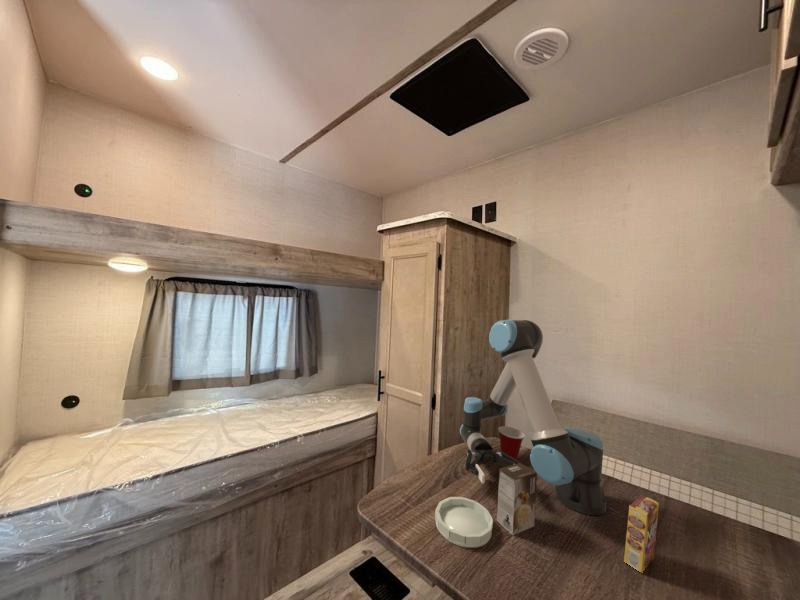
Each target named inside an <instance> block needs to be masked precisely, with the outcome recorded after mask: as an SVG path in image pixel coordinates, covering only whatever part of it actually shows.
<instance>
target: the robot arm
mask: <svg viewBox="0 0 800 600" xmlns="http://www.w3.org/2000/svg"><path fill="white" fill-rule="evenodd" d="M488 335H489V336H488V341H489V345H490V347H491V348H492V349H493V350H495V352H496V353H497V352H498V353H500V356H501V359H502V361H503V362H505V363H506V364H505V366H504V368H503V369H502V372H501V373H500V375H499V377H498V379H497V381H496V382H495V385H494V386H493V388H492V391H491V393H490V395H489V396H488V398H487V399H486V400H483V399H481V398H478V397H475V396H468V397H466V398H465V399H464V404H463V422H462V424H461V426H460V428H459V435H460V436H461V439H462V440H463V442H464V443H465V444H466V445H467V447H468V448H469V449H468V450H467V456H466V457H467V458H466V461H465V471H469V470H470V473H471V474H472V475H473V474H474V476H477V477H478V479H479V481H480V482H481V484H485V481H486V479H485V478H486V475H485V473H484V472H483V470H482V469H481V467H480V465H482V464H483V463H493V464H495V465H501V466H503V467H507V466H511V465H514V464H518V463H521V464H523V463H522V462H521V461H519V459H517V460H516V459H514V458H513V457H511V456H509V455H507V454H505V453H504V452H503V451H502V450H501V449H499V451H498V452H496V450H495V451H494V448H493V446H492V444H491V443H489V441H488V440H487V439H486V438H485V437H484V435H483V434H482V421H484V420H488V419H495V418H500V417H502V416H504V415H506V414H507V413H508V407H509V406H508V402H509V401H510V398H511V396H512V395H513V393H514V392H515V389H516V388H517V391H518V394H519V397H520V400H521V402H522V405H523V408H524V410H525V413H526V416H527V419H528V422H529V425H530V427H531V430H532V435H531V438H530V441H531V444H532V446H533V447H532V449H530V450H531V451H530V454H529V459H530V463H531V466H532V467H533V471H535V472H536V473H537V476H538V477H540V478H541V479H543V481H545V483H548V484H549V485H553V486H554V489H553V490H554V496H555V497H556V498H557V500H558V501H559V502H560V503H562V505H564V506H565V507H568V508H569V509H571V510H573V511H576V512H577V513H580V514H584V515H588V516H601V515H604V514H605V513H606V511H607V500H606V496H605V492H604V489H603V486H602V473H603V472H602V471H603V460H604V459H603V458H604V450H605V449H604V442H603V439H602V438H601V437H600V436H598V435H597V434H594V433H592V432H590V431H587V430H583V429H581V428H576V427H564V428H562V427H561V426H560V423H559V420H558V418H557V416H556V413H555V410H554V407H553V406H552V403H551V401H550V398H549V396H548V392H547V390H546V388H545V385H544V383H543V381H542V378H541V375H540V372H539V371H538V368H537V366H536V363H535V359H536V357H537V356H538V354H539V352H540V349H541V347H542V345H543V342H544V341H543V338H544V336H543V331H542V330H541V328H540V326H539V325H538V324H537V323H535V322H534V321H531V320H528V319H522V320H521V319H519V320H518V319H504V320H503V319H501V320H498V321H497V322H495V323H494V324H493V325H492V326H491V328H490V331H489V334H488ZM473 458H475V459H474V460H473ZM472 460H473V461H472Z"/></svg>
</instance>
